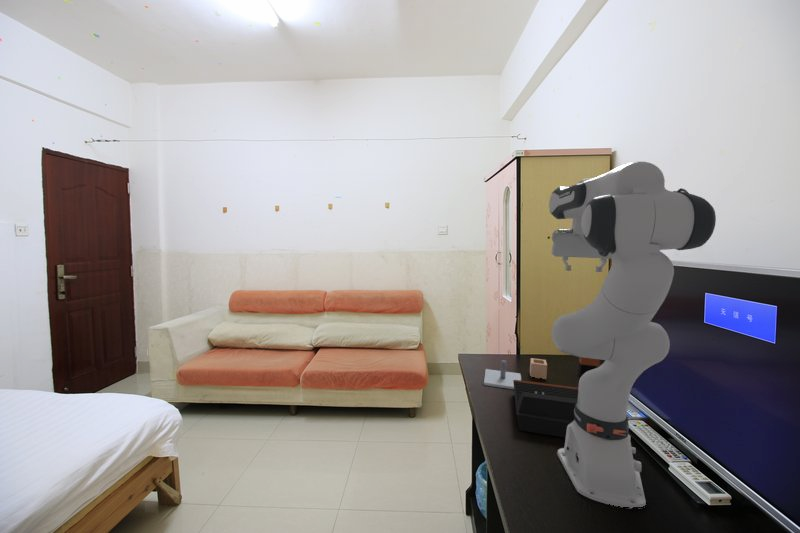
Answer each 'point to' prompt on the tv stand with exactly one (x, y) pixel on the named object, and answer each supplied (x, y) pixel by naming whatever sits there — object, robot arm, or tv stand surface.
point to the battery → (587, 365)
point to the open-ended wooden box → (538, 368)
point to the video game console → (544, 407)
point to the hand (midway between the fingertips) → (583, 271)
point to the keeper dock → (498, 381)
